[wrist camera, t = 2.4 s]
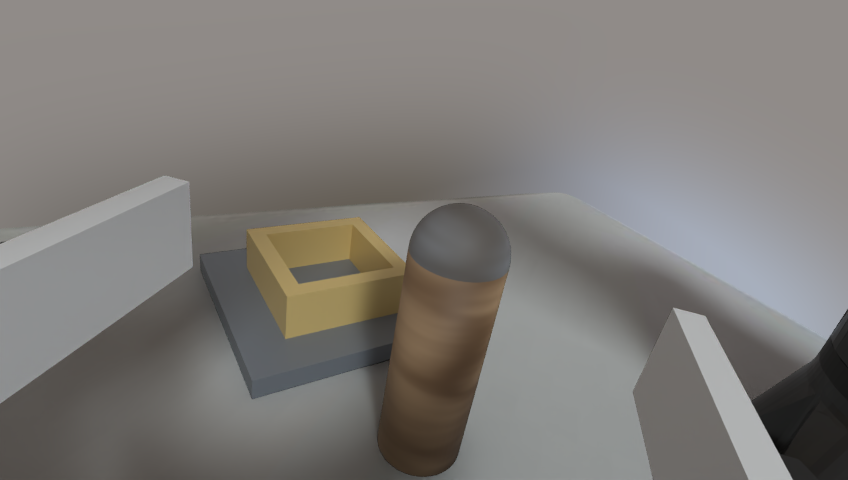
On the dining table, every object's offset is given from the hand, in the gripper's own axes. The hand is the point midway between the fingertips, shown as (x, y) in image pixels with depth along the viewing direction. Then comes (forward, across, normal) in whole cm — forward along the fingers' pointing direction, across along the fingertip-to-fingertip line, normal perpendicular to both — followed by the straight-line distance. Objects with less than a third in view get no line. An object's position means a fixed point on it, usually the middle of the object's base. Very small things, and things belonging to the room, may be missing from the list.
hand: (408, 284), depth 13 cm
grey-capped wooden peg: (+10, +1, -17) cm, 20 cm away
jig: (+21, -10, -17) cm, 29 cm away
